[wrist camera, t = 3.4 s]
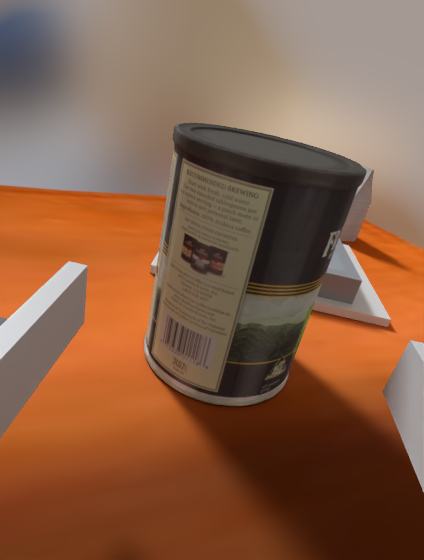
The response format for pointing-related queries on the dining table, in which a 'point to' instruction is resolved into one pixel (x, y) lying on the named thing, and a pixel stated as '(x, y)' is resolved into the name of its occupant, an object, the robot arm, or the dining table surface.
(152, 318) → the coffee can
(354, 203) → the white printed box
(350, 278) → the caddy
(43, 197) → the dining table surface
